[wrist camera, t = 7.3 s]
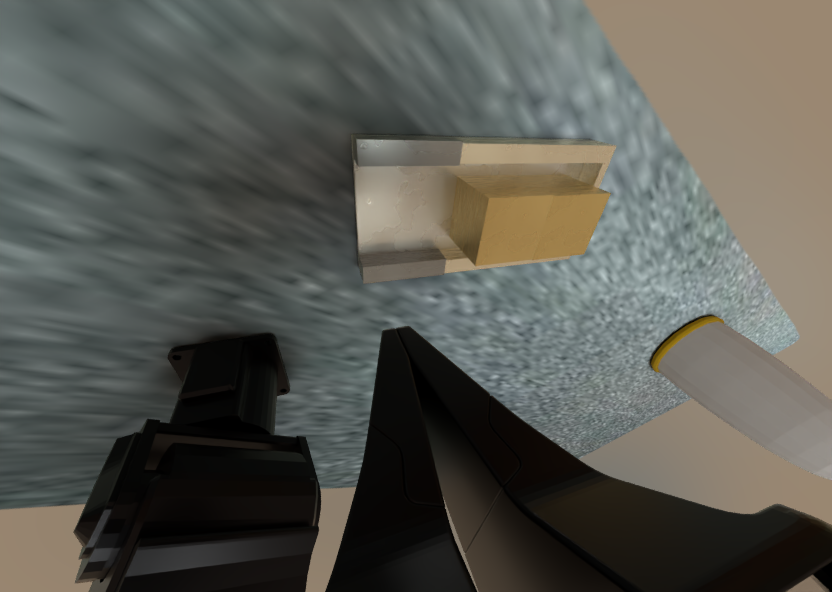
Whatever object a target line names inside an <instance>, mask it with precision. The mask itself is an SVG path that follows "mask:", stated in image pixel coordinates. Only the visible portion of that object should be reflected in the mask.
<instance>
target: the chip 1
mask: <svg viewBox="0 0 832 592" xmlns="http://www.w3.org/2000/svg"><path fill="white" fill-rule="evenodd" d="M553 198H554V195H553V194H551V193H549V192H547V191H545V190H543V189H541V188H539V187H537V186H535V185H533V184H531V183H529V182H527V181H525V180H523V179H521V178H519V177H517V176H515V175H487V176H457V183H456V190H455V197H454V205H453V212H452V219H451V227H450V234H449V237H450V238H451V239H452V241H453V242H454V243H455V244H456V245H457V246H458V247H459V248H460V250H461V251H462V252H463V253H464V254H465V255H466V256H467V258H468V259H469V260H470V261H471V262H472V263H473V264H474V265H475V266H481V265H490V264H498V263H507V262H515V261H524V260H532V259H533V257H534V254H535V251H536V248H537V246H538V243H539V240H540V237H541V234H542V231H543V228H544V225H545V222H546V219H547V216H548V213H549V210H550V207H551V204H552V201H553Z"/></svg>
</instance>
